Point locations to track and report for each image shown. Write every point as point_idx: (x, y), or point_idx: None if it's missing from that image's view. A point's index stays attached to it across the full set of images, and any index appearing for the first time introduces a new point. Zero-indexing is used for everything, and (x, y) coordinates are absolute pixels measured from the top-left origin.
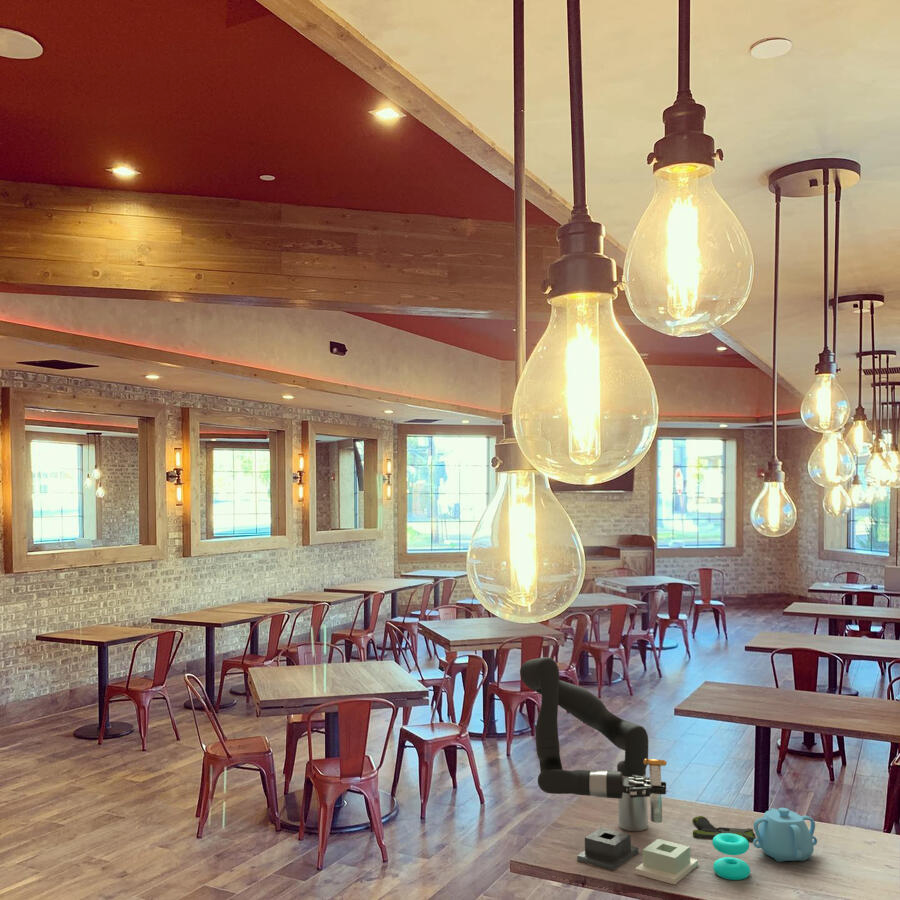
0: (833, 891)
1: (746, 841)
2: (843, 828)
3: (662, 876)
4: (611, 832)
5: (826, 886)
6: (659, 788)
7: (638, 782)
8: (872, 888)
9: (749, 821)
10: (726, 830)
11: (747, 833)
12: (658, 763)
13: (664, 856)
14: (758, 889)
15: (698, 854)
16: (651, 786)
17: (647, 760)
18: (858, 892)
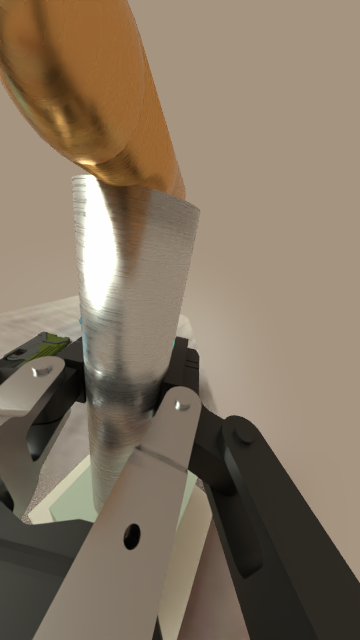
0: (192, 335)
1: (174, 341)
2: (79, 296)
3: (203, 544)
4: None
5: (183, 335)
6: (197, 364)
7: (129, 584)
8: (183, 320)
9: (6, 327)
10: (16, 353)
11: (51, 339)
12: (179, 187)
13: (184, 510)
14: (199, 377)
15: (75, 414)
16: (198, 397)
17: (142, 45)
18: (190, 326)
